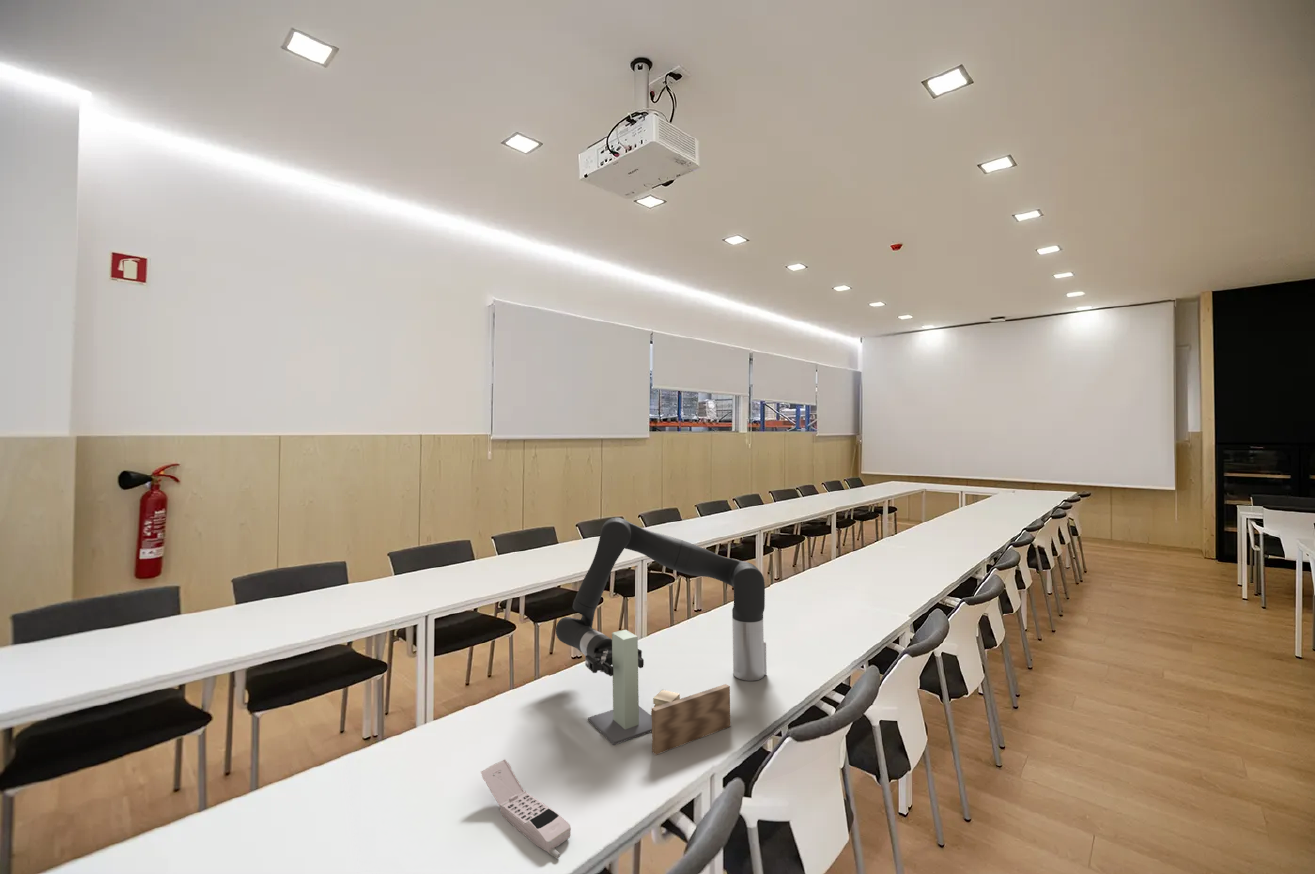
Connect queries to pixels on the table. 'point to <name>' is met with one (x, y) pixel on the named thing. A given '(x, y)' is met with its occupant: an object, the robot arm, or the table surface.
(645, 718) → the charcoal mat
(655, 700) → the offcut stack
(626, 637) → the sage green pillar
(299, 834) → the table surface
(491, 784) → the mobile phone
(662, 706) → the walnut rack
